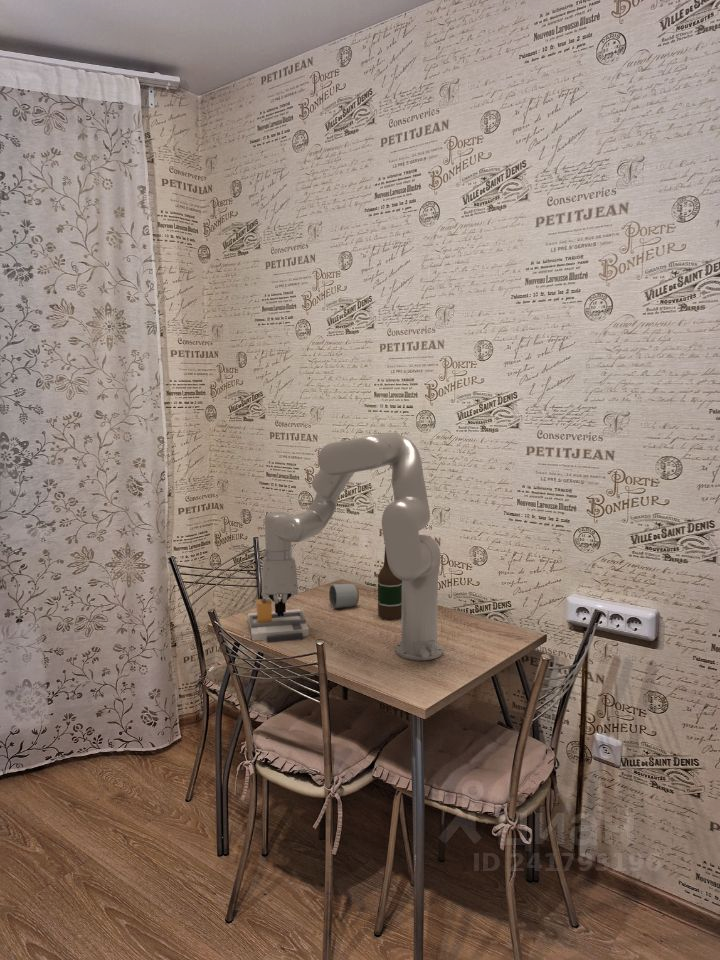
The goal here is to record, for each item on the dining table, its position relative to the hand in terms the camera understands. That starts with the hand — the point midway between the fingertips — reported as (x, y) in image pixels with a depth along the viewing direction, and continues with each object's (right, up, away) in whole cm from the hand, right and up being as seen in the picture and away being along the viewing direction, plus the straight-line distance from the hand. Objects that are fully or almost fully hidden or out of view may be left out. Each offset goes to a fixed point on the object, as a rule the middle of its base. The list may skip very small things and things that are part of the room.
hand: (280, 614), depth 202 cm
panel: (-1, -4, 0) cm, 4 cm away
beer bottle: (+33, -3, +9) cm, 34 cm away
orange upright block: (-5, -2, -1) cm, 5 cm away
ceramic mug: (+18, -1, +20) cm, 27 cm away
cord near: (+2, -5, -10) cm, 11 cm away
